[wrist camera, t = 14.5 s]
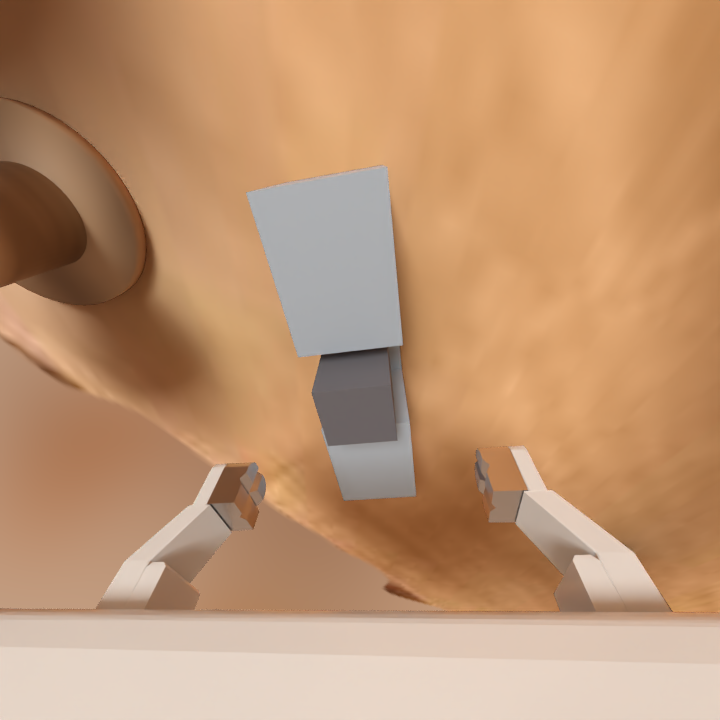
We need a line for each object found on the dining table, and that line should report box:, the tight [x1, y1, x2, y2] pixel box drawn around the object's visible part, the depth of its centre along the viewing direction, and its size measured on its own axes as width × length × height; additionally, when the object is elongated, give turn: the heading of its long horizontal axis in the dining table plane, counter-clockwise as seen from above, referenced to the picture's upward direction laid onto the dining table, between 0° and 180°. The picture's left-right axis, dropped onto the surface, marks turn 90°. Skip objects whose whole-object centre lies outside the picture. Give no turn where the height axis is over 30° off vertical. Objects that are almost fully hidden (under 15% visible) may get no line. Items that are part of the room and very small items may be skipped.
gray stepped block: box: [246, 165, 416, 501], centre depth 18 cm, size 5×19×6 cm, turn 9°
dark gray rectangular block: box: [312, 347, 398, 446], centre depth 17 cm, size 4×4×7 cm
